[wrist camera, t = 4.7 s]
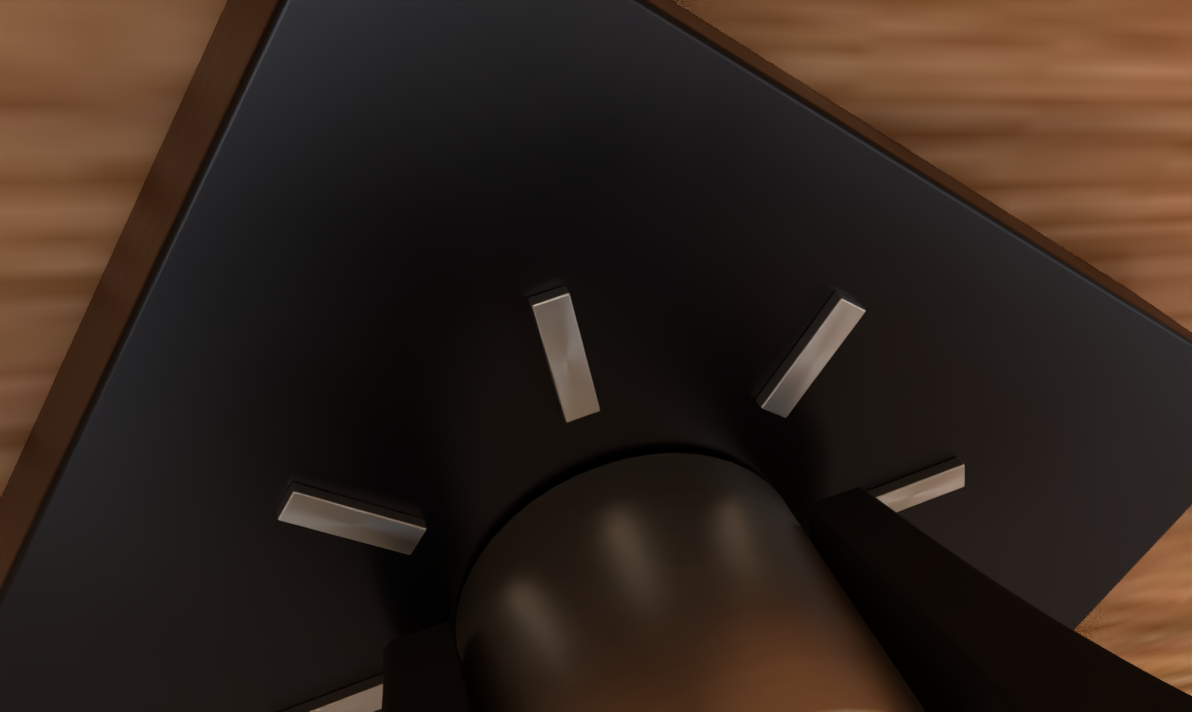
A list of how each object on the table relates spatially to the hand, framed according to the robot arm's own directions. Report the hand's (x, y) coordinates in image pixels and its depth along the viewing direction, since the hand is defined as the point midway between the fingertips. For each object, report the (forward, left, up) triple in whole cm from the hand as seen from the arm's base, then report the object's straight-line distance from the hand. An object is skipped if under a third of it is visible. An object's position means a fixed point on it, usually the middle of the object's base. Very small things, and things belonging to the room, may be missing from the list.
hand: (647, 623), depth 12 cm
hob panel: (0, -1, -3) cm, 4 cm away
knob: (0, 0, 0) cm, 0 cm away
